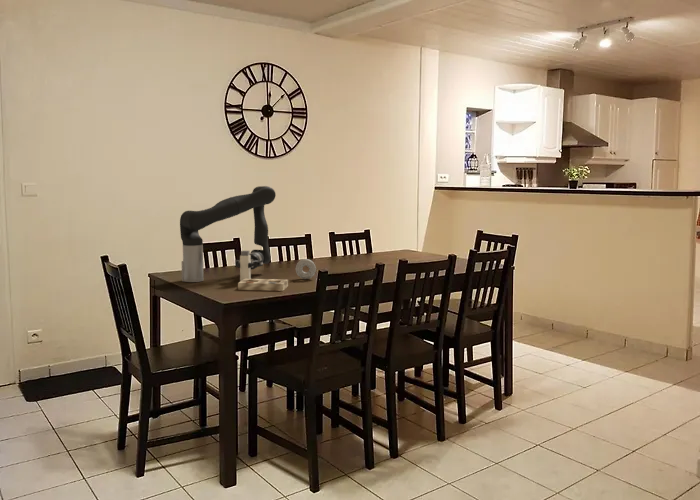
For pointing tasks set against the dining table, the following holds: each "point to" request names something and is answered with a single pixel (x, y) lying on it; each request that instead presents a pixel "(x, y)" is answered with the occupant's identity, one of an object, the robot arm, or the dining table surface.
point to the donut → (301, 273)
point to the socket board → (263, 284)
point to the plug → (245, 265)
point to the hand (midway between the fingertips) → (244, 265)
